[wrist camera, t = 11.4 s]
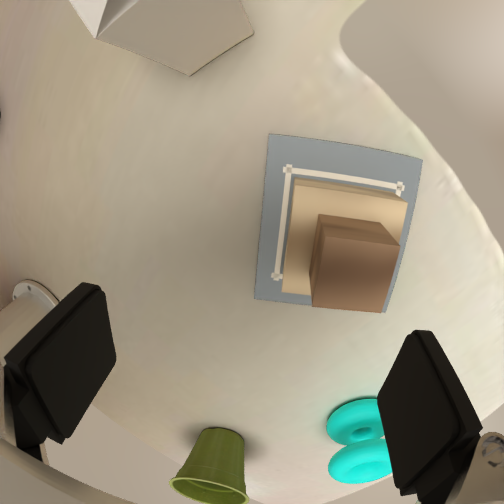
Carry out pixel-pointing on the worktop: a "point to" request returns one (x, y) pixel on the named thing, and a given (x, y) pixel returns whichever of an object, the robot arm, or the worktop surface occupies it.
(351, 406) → the donuts
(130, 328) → the worktop surface
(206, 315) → the worktop surface
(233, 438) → the plant pot
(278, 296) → the board
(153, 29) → the milk carton
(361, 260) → the walnut block
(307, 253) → the maple slab
